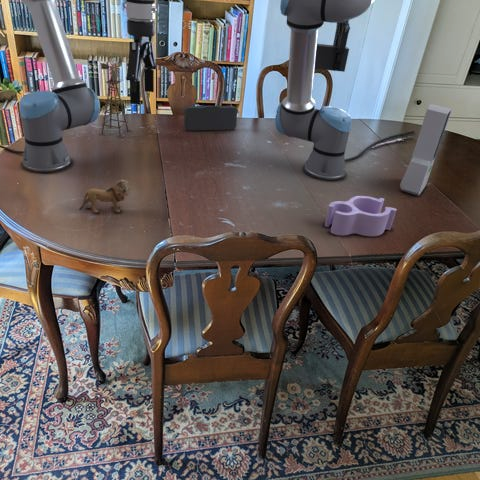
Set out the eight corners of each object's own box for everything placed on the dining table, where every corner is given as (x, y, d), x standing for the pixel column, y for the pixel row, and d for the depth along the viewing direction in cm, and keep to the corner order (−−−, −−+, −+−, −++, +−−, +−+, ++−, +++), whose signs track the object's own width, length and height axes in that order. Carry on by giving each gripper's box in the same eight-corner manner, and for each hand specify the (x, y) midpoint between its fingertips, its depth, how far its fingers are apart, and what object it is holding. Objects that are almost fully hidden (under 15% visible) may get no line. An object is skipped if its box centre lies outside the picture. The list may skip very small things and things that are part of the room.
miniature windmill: (120, 137, 185) (116, 58, 169) (100, 134, 186) (94, 55, 170) (129, 130, 193) (126, 54, 176) (110, 127, 194) (105, 51, 177)
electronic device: (418, 197, 164) (446, 113, 148) (397, 190, 167) (423, 108, 151) (426, 185, 173) (454, 105, 157) (406, 179, 176) (431, 100, 160)
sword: (410, 136, 218) (410, 134, 218) (415, 138, 216) (416, 136, 216) (366, 148, 203) (366, 145, 202) (371, 151, 201) (372, 148, 200)
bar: (291, 66, 191) (295, 43, 187) (290, 64, 195) (294, 41, 190) (344, 71, 193) (349, 48, 188) (342, 69, 197) (346, 46, 192)
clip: (337, 240, 135) (342, 219, 131) (318, 218, 145) (322, 198, 141) (395, 233, 141) (402, 213, 137) (373, 213, 151) (378, 194, 147)
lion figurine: (129, 202, 142) (128, 176, 137) (131, 211, 138) (130, 184, 133) (78, 207, 137) (75, 179, 132) (79, 216, 133) (76, 188, 128)
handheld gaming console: (234, 127, 207) (236, 105, 202) (236, 129, 205) (238, 107, 200) (183, 128, 200) (184, 105, 195) (185, 131, 198) (185, 107, 192)
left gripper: (140, 27, 117) (142, 111, 128) (166, 15, 138) (165, 88, 149) (111, 24, 117) (115, 107, 129) (141, 12, 138) (142, 85, 150)
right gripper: (361, 10, 175) (348, 74, 187) (351, 4, 189) (339, 64, 202) (342, 8, 174) (329, 72, 187) (333, 2, 189) (322, 62, 201)
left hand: (142, 97), depth 139 cm, fingers open, 13 cm apart
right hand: (334, 68), depth 194 cm, fingers closed on bar, 4 cm apart
